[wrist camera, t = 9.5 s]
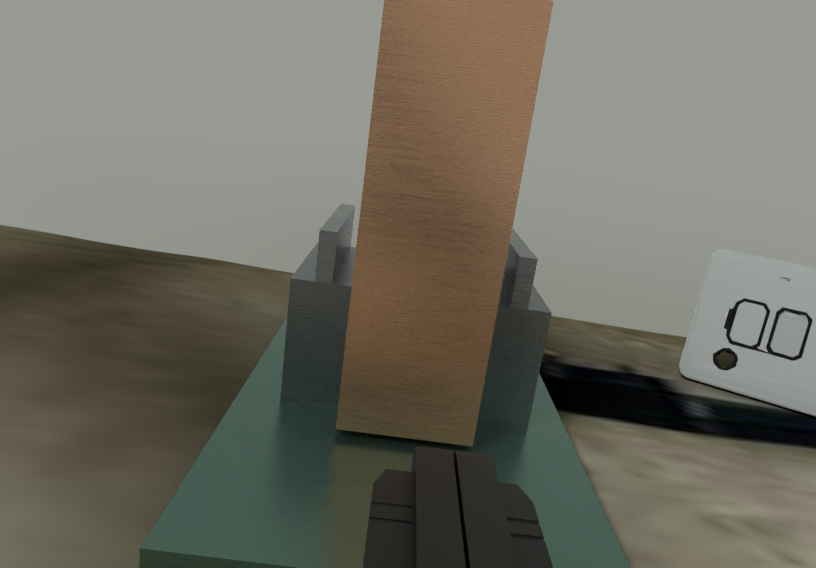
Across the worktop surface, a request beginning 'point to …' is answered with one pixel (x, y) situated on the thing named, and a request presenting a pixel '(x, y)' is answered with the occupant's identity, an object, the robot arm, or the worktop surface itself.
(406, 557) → the robot arm
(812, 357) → the electrical switch
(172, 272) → the worktop surface
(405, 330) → the upright wooden plank
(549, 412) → the base
